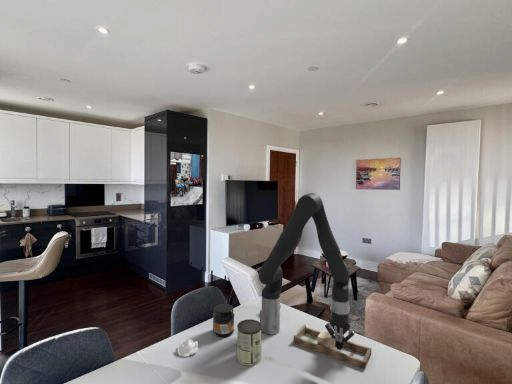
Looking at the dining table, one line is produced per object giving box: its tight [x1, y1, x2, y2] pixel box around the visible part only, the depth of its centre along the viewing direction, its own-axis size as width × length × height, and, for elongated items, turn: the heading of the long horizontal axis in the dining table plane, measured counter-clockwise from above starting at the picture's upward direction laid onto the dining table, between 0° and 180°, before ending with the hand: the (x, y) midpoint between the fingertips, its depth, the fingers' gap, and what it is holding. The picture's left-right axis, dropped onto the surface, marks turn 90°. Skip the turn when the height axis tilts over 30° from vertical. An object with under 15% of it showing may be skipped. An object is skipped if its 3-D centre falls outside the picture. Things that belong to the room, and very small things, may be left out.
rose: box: [176, 338, 199, 358], centre depth 121 cm, size 10×4×10 cm
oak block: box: [317, 330, 335, 350], centre depth 122 cm, size 6×6×5 cm
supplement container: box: [212, 303, 235, 338], centre depth 136 cm, size 10×10×12 cm
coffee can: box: [236, 318, 262, 367], centre depth 116 cm, size 10×10×14 cm
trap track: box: [292, 324, 372, 370], centre depth 121 cm, size 31×11×5 cm, turn 56°
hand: (339, 348), depth 119 cm, fingers closed
